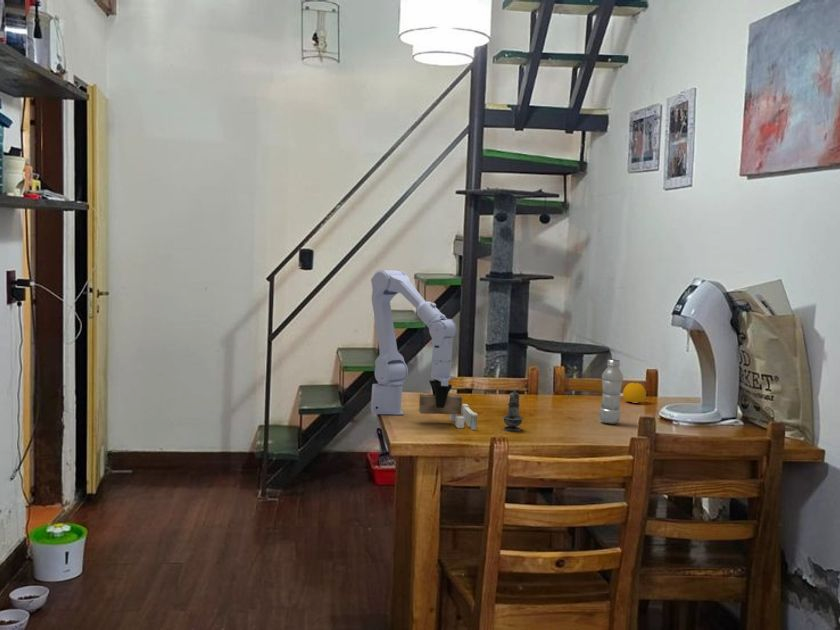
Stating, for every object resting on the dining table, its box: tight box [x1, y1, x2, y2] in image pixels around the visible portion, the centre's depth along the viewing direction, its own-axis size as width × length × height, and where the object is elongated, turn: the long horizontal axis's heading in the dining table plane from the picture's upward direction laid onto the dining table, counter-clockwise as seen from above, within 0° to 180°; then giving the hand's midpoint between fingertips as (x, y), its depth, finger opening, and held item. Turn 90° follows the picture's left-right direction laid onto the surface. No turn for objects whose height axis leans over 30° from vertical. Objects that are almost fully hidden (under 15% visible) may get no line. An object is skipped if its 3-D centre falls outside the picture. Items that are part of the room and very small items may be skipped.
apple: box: [622, 382, 647, 403], centre depth 291 cm, size 8×8×8 cm
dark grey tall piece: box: [502, 388, 524, 433], centre depth 237 cm, size 6×6×12 cm
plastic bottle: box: [598, 358, 624, 425], centre depth 252 cm, size 6×7×20 cm
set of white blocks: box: [449, 403, 478, 431], centre depth 241 cm, size 6×15×4 cm, turn 8°
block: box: [418, 393, 463, 415], centre depth 240 cm, size 12×4×5 cm, turn 98°
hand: (439, 406), depth 240 cm, fingers closed on block, 3 cm apart
